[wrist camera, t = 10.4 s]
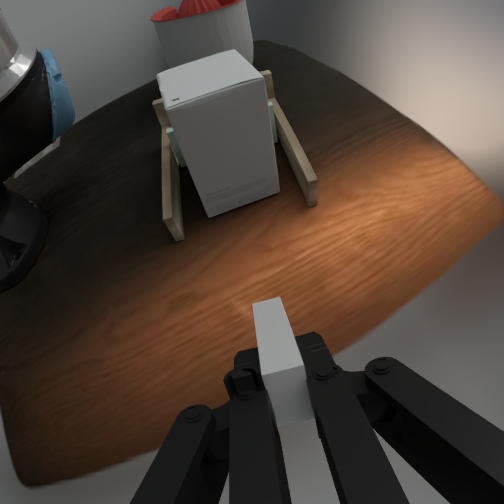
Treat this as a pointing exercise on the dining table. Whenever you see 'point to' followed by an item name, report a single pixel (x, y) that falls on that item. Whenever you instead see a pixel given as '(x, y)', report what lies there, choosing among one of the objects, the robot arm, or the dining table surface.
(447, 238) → the dining table surface
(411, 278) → the dining table surface
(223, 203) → the supplement box
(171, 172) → the pusher lane
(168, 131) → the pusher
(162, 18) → the citrus juicer
